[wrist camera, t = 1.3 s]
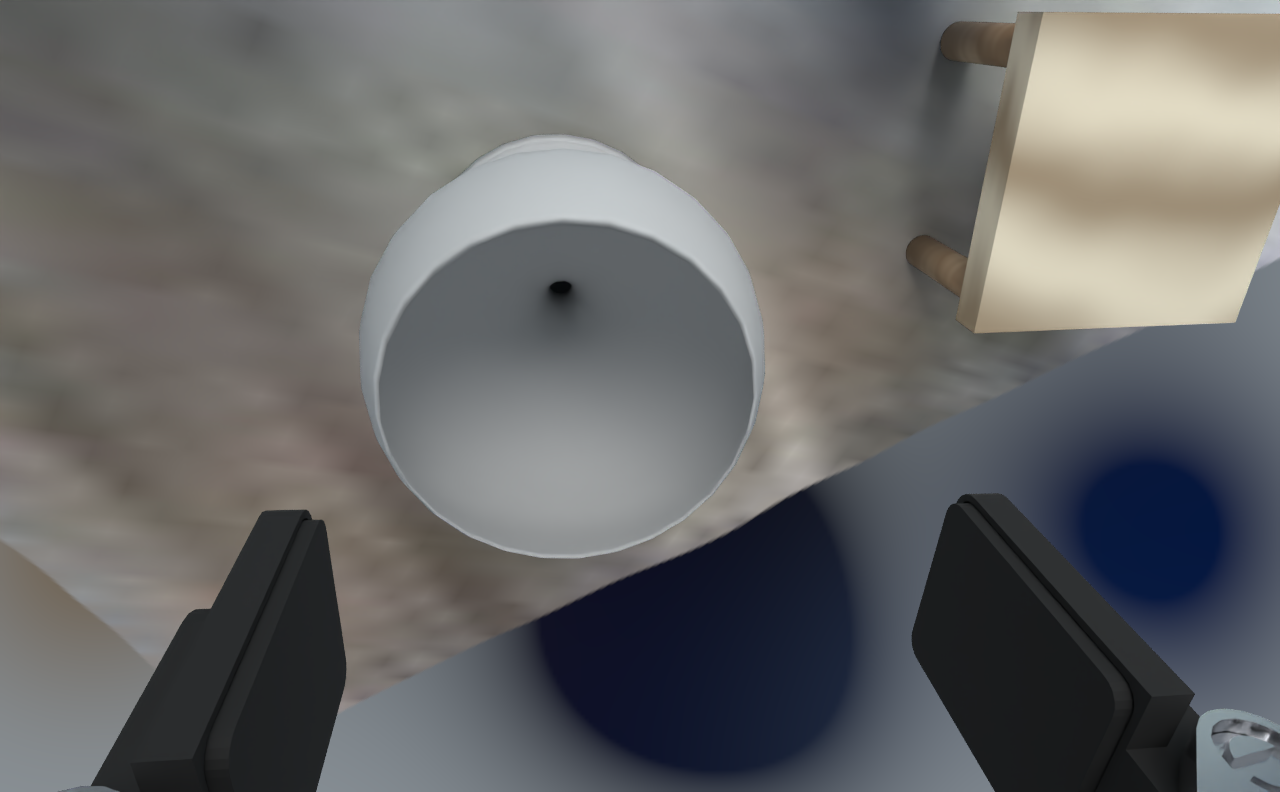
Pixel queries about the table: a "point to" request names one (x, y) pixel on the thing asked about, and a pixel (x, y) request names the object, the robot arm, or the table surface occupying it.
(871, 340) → the table surface
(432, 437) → the chalice
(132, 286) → the table surface
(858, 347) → the table surface
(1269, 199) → the stool
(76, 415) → the table surface
